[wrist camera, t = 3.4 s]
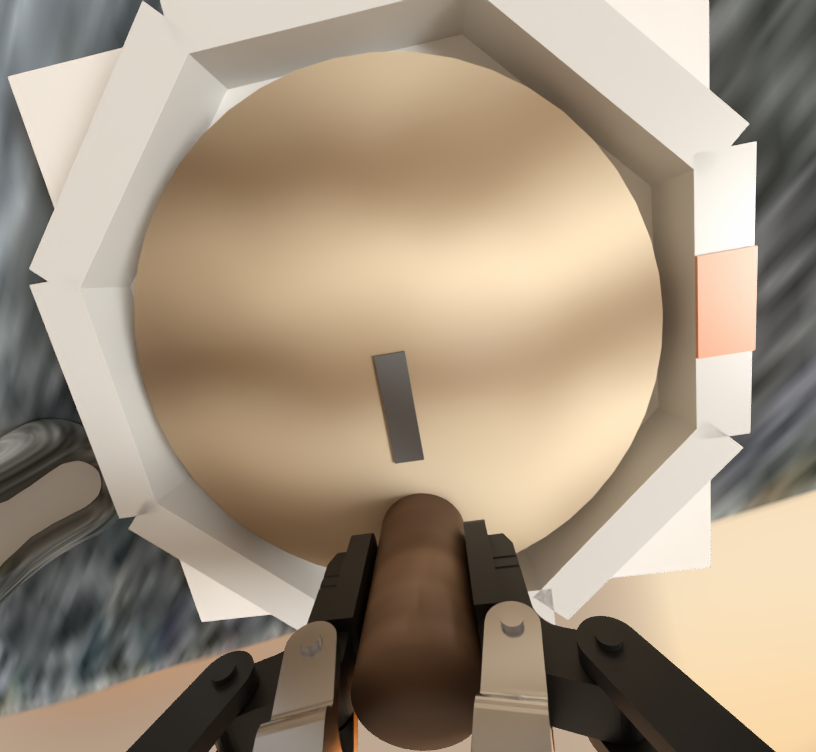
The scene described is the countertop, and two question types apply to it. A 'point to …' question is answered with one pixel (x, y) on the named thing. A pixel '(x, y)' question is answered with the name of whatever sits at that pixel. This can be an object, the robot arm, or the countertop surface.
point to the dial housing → (443, 36)
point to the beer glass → (47, 497)
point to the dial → (399, 340)
